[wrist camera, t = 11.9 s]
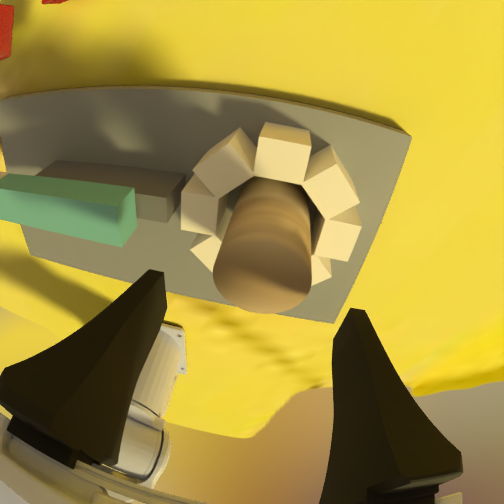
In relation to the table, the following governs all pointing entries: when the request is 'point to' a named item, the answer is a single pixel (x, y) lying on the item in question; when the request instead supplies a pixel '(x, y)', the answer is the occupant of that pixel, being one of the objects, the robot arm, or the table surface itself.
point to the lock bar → (69, 207)
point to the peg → (266, 248)
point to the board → (182, 149)
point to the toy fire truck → (3, 23)
